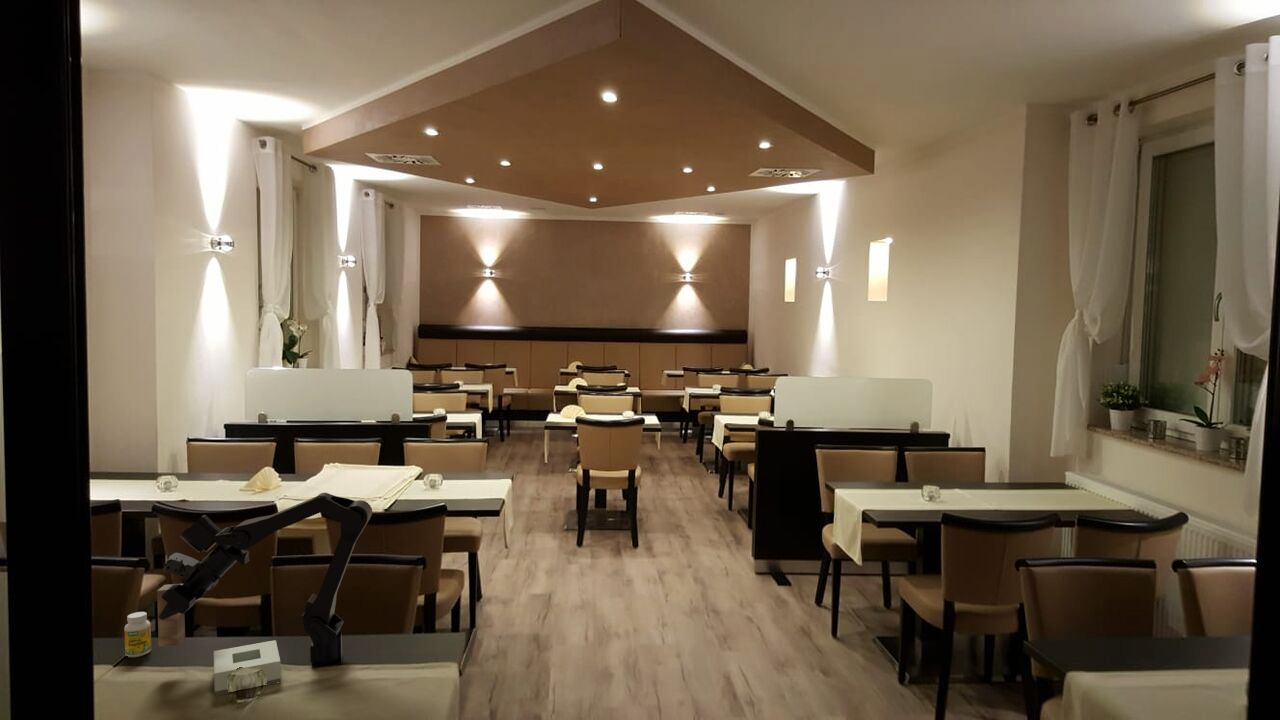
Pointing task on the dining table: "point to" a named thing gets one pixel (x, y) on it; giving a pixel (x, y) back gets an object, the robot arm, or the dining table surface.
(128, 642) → the supplement bottle
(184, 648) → the dining table surface
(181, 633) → the walnut peg
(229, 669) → the socket block
